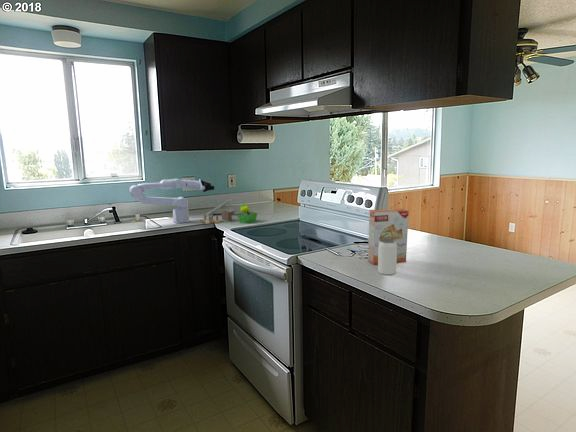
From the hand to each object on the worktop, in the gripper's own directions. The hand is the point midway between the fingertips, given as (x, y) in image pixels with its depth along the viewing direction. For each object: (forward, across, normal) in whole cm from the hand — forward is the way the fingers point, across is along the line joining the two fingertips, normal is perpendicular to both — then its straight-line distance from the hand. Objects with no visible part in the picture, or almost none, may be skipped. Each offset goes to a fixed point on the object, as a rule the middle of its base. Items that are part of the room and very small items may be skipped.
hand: (212, 186), depth 250 cm
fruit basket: (+17, -27, +15) cm, 35 cm away
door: (+8, -15, +18) cm, 25 cm away
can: (+22, -144, -5) cm, 146 cm away
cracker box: (+31, -135, -5) cm, 138 cm away
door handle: (+14, +11, +22) cm, 28 cm away
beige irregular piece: (-2, -14, +20) cm, 24 cm away
